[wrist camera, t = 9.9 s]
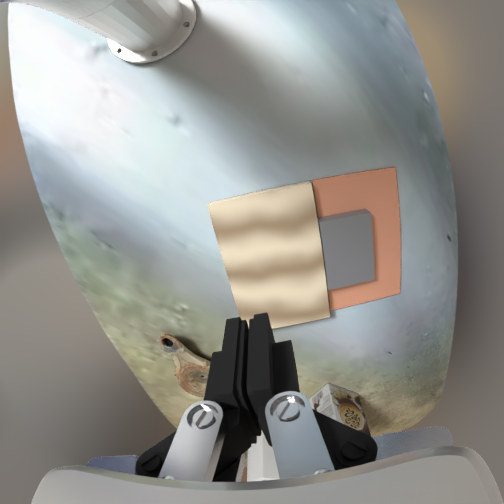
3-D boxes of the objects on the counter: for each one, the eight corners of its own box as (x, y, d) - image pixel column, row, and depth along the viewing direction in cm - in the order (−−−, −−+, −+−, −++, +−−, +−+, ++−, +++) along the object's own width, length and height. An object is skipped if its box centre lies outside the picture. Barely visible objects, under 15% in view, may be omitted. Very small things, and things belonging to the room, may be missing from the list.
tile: (316, 217, 37) (319, 222, 35) (365, 208, 36) (370, 212, 34) (325, 283, 41) (328, 290, 39) (370, 273, 40) (374, 279, 38)
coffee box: (359, 392, 51) (378, 455, 36) (338, 409, 53) (352, 470, 39) (328, 381, 50) (343, 451, 35) (307, 399, 52) (316, 466, 37)
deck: (209, 202, 37) (207, 205, 35) (308, 180, 35) (311, 183, 33) (245, 325, 44) (245, 333, 42) (327, 309, 43) (329, 317, 41)
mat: (311, 180, 35) (312, 180, 35) (394, 167, 34) (395, 167, 34) (329, 309, 43) (330, 310, 42) (398, 292, 42) (399, 293, 41)
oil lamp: (214, 403, 53) (208, 442, 43) (148, 332, 46) (129, 372, 36) (251, 393, 51) (250, 434, 42) (187, 315, 44) (173, 358, 35)
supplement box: (246, 437, 58) (244, 489, 44) (261, 420, 55) (261, 478, 41) (280, 443, 59) (283, 493, 46) (297, 426, 56) (303, 481, 42)
